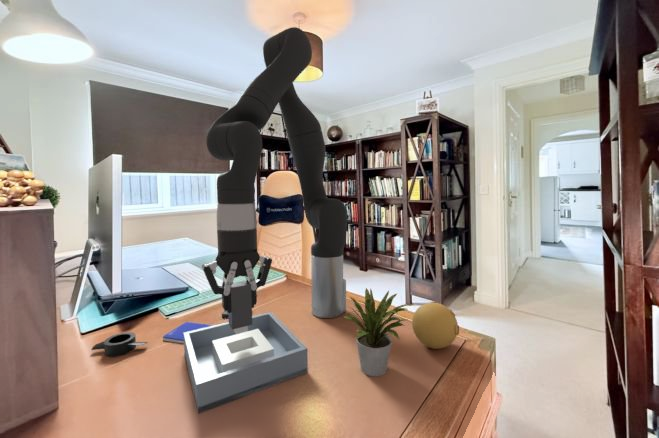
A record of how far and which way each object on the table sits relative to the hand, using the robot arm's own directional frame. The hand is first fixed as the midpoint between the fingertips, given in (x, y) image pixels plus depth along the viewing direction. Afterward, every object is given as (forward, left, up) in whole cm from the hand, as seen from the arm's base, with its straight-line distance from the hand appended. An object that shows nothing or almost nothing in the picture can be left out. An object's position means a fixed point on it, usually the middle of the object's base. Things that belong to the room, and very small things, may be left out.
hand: (239, 308), depth 60 cm
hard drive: (+6, -18, -13) cm, 23 cm away
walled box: (0, 0, -12) cm, 12 cm away
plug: (0, 0, -5) cm, 5 cm away
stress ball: (-39, +17, -12) cm, 44 cm away
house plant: (-21, +17, -12) cm, 30 cm away
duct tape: (+22, -20, -12) cm, 32 cm away
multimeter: (-7, -31, -13) cm, 34 cm away
